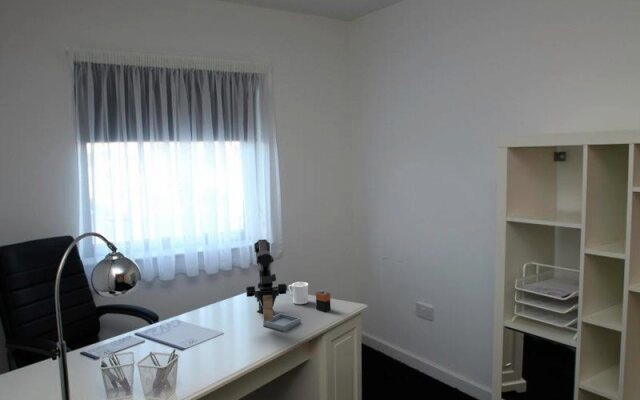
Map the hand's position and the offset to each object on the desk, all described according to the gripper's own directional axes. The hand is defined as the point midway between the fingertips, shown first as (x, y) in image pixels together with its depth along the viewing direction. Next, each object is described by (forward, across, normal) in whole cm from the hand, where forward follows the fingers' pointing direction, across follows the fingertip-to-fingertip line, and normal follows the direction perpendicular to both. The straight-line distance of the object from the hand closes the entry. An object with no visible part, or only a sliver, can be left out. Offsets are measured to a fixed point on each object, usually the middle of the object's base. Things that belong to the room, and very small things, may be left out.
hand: (267, 306), depth 215 cm
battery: (-6, +30, +24) cm, 39 cm away
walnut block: (+4, 0, +6) cm, 7 cm away
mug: (-16, +19, +34) cm, 42 cm away
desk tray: (+4, +7, +13) cm, 15 cm away
